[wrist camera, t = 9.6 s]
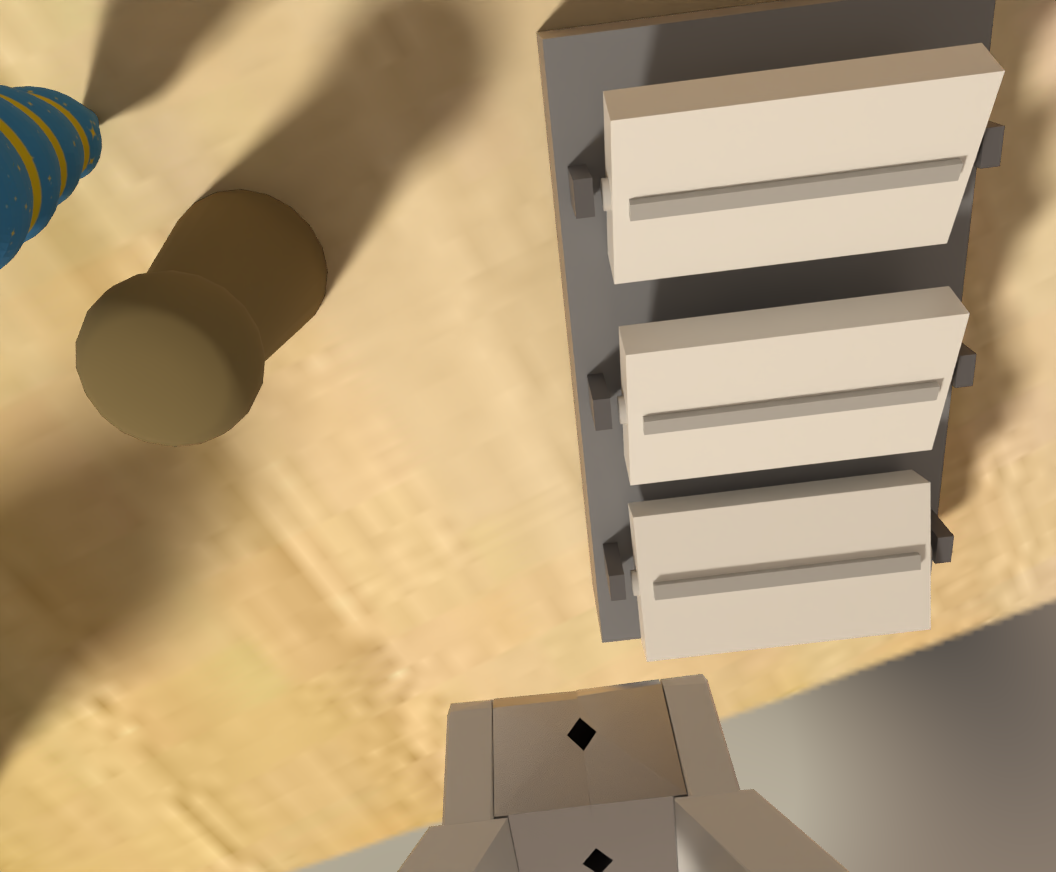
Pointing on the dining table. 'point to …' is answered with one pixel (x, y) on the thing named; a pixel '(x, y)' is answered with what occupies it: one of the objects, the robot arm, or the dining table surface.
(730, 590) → the grooved switch paddle
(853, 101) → the panel
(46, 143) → the ornament
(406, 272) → the dining table surface
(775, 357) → the rocker
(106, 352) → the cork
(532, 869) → the robot arm
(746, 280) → the switch unit
